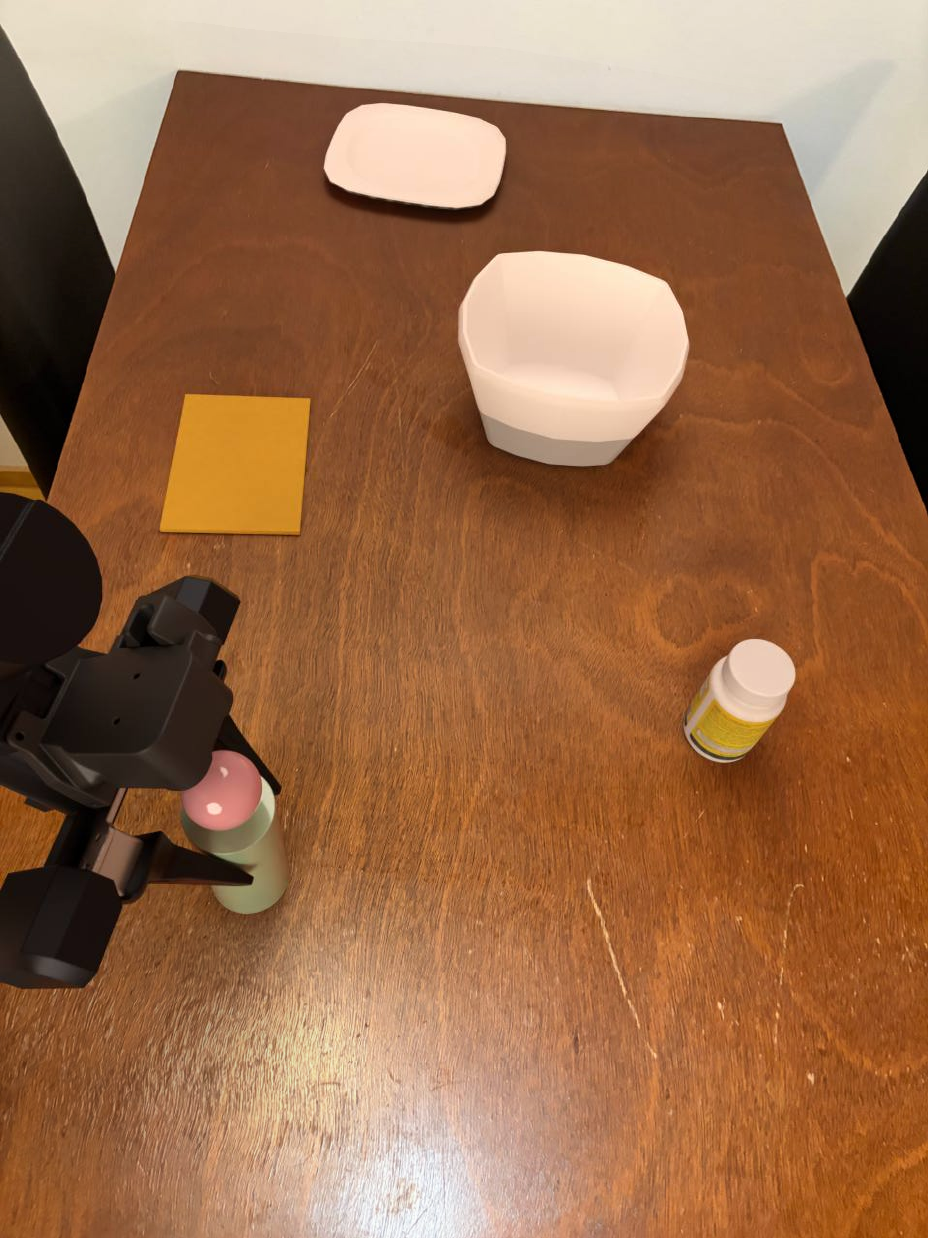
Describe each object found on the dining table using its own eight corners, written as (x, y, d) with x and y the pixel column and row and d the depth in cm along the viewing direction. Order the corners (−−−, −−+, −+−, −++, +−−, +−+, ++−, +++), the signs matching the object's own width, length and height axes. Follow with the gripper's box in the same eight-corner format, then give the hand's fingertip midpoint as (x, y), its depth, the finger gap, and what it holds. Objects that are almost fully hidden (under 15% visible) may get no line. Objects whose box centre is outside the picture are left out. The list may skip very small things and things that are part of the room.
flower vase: (247, 931, 49) (210, 843, 37) (194, 877, 50) (142, 776, 38) (306, 872, 51) (288, 771, 39) (253, 822, 52) (221, 710, 40)
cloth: (300, 535, 65) (299, 531, 65) (160, 531, 64) (159, 528, 64) (310, 401, 73) (310, 398, 73) (186, 397, 72) (185, 393, 72)
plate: (312, 200, 89) (311, 184, 87) (350, 110, 99) (349, 94, 97) (491, 229, 88) (493, 213, 87) (510, 135, 99) (512, 119, 97)
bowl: (661, 362, 79) (693, 270, 72) (656, 511, 69) (692, 422, 62) (465, 329, 80) (475, 233, 72) (432, 472, 70) (440, 379, 62)
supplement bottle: (762, 760, 58) (814, 699, 51) (693, 768, 57) (738, 707, 50) (738, 696, 61) (785, 629, 54) (673, 703, 60) (712, 636, 53)
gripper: (-71, 905, 26) (320, 1042, 35) (162, 448, 36) (416, 644, 45) (-193, 924, 32) (161, 1034, 41) (33, 534, 43) (277, 690, 52)
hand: (262, 836), depth 45 cm, fingers closed on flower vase, 4 cm apart
